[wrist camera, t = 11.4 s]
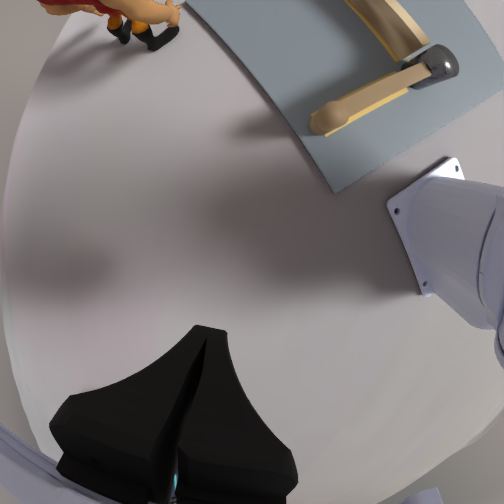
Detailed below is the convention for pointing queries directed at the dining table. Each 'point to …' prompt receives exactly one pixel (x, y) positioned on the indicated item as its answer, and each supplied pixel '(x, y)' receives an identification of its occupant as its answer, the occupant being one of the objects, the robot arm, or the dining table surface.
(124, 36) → the action figure
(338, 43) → the board
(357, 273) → the dining table surface
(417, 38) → the tan piece
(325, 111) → the fixed fence section
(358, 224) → the dining table surface
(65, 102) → the dining table surface
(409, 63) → the hinge post
